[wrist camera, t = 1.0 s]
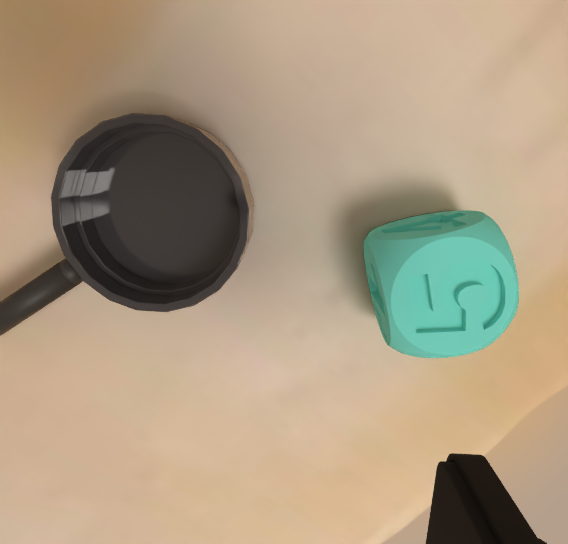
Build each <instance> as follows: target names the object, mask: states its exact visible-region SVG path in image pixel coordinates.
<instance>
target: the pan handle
mask: <svg viewBox="0 0 568 544" xmlns="http://www.w3.org/2000/svg"><path fill="white" fill-rule="evenodd" d="M82 281H83V280H82V278H81V277H80V276H79V275H78V273H77V272H76V271H75V269H74V268H73V267H72V265H71V264H70V263H69V262H68V260H67V259H64V260H62V261H60V262H59V263H57V264H56V265H54V266H53V267H52V268H50V269H49V270H47V271H46V272H44V273H43V274H41V275H40V276H38V277H37V278H35V279H34V280H32V281H31V282H29V283H28V284H26V285H25V286H23V287H22V288H20V289H19V290H17V291H16V292H14V293H13V294H11V295H10V296H8V297H7V298H5V299H4V300H3V301H1V302H0V336H1V335H2V334H4V333H5V332H7V331H8V330H10V329H11V328H13V327H14V326H16V325H17V324H19V323H20V322H22V321H23V320H25V319H27V318H28V317H30V316H31V315H33V314H34V313H36V312H37V311H39V310H40V309H42V308H43V307H45V306H46V305H48V304H49V303H51V302H52V301H54V300H55V299H57V298H58V297H60V296H61V295H63V294H65V293H66V292H68V291H69V290H71V289H72V288H74V287H75V286H77V285H78V284H80V283H81V282H82Z"/></svg>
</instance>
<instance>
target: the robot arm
mask: <svg viewBox="0 0 568 544" xmlns="http://www.w3.org/2000/svg"><path fill="white" fill-rule="evenodd" d="M426 544H547V543H545V542H544V541H542V540H541V539H538V538H537V537H536V535H535V534H534V532H533V530H532V529H531V528H530V526H529V524H528V523H527V521H526V520H525V518H524V517H523V515H522V513H521V512H520V510H519V509H518V507H517V506H516V504H515V503H514V501H513V500H512V498H511V496H510V495H509V493H508V492H507V490H506V489H505V488H504V486H503V484H502V483H501V481H500V480H499V478H498V476H497V475H496V473H495V472H494V470H493V469H492V467H491V466H490V464H489V463H488V461H487V460H486V458H485V457H484V456H482V455H472V454H450V455H449V456H448V458H447V461H446V462H442V461H441V462H439V463H438V466H437V471H436V478H435V485H434V492H433V498H432V505H431V512H430V519H429V525H428V532H427V539H426Z"/></svg>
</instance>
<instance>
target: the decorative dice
mask: <svg viewBox="0 0 568 544" xmlns="http://www.w3.org/2000/svg"><path fill="white" fill-rule="evenodd" d="M363 250H364V261H365V268H366V274H367V279H368V284H369V289H370V293H371V298H372V302H373V306H374V310H375V313H376V317H377V320H378V324H379V327H380V330H381V332H382V335H383V337H384V340H385V342H386V343H387V345H388V346H390V347H392V348H393V349H395V350H397V351H399V352H401V353H403V354H406V355H410V356H415V357H423V358H446V357H455V356H461V355H465V354H469V353H472V352H475V351H478V350H481V349H483V348H485V347H487V346H488V345H490V344H491V343H493V342H494V341H495V340H496V339H497V338H498V337H499V336H500V335H501V334H502V333H503V332H504V331H505V330H506V328H507V327H508V326H509V324H510V323H511V321H512V319H513V318H514V316H515V314H516V311H517V308H518V301H519V286H518V277H517V271H516V267H515V263H514V259H513V256H512V253H511V250H510V247H509V245H508V242H507V240H506V238H505V236H504V234H503V232H502V231H501V229H500V228H499V226H498V225H497V224H496V223H495V221H494V220H493V219H491V218H490V217H489V216H487V215H486V214H484V213H482V212H478V211H447V212H438V213H431V214H424V215H419V216H414V217H409V218H405V219H401V220H397V221H394V222H390V223H387V224H385V225H382V226H380V227H377V228H375V229H374V230H372V231H371V232H370V233H369V234H368V236H367V237H366V238H365V240H364V244H363Z"/></svg>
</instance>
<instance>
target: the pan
mask: <svg viewBox="0 0 568 544" xmlns="http://www.w3.org/2000/svg"><path fill="white" fill-rule="evenodd" d="M51 201H52V216H53V227H54V230H55V233H56V235H57V238H58V241H59V243H60V246H61V248H62V251H63V254H64V256H65V258H66V259H67V260H68V262H69V263H70V264H71V265H72V267H73V268H74V269H75V271H76V272H77V273H78V275H79V276H80V277H81V278H82V280H83V281H84V282H85V283H87V284H88V285H89V286H91V287H92V288H93V289H95V290H96V291H97V292H99V293H100V294H102V295H103V296H104V297H106V298H107V299H109V300H111V301H113V302H116V303H119V304H121V305H124V306H127V307H129V308H132V309H135V310H142V311H157V312H169V311H173V310H177V309H181V308H185V307H190V306H194V305H196V304H197V303H199V302H201V301H202V300H204V299H206V298H207V297H209V296H210V295H212V294H214V293H215V292H217V291H218V290H220V288H221V287H222V286H223V285H224V284H225V282H226V281H227V280H228V279H229V277H230V276H231V275H232V274H233V273H234V271H235V270H236V269H237V267H238V266H239V264H240V262H241V259H242V258H243V256H244V253H245V251H246V248H247V245H248V243H249V240H250V237H251V235H252V232H253V219H254V201H253V197H252V193H251V189H250V186H249V182H248V178H247V176H246V174H245V172H244V170H243V169H242V167H241V166H240V164H239V163H238V161H237V160H236V158H235V156H234V155H233V153H232V152H231V151H230V150H229V149H228V148H227V147H226V146H225V145H223V144H222V143H221V142H220V141H219V140H217V139H216V138H215V137H214V136H213V135H211V134H210V133H209V132H207V131H205V130H203V129H200V128H198V127H196V126H193V125H191V124H188V123H186V122H183V121H181V120H178V119H175V118H172V117H169V116H165V115H153V114H138V113H133V114H132V113H131V114H128V115H124V116H121V117H117V118H113V119H110V120H106V121H103V122H101V123H99V124H98V125H97V126H95V127H94V128H93V129H91V130H90V131H88V132H87V133H86V134H84V135H83V136H81V137H80V138H79V139H77V141H75V143H74V144H73V146H72V147H71V149H70V150H69V152H68V153H67V155H66V156H65V158H64V159H63V161H62V162H61V164H60V165H59V168H58V172H57V175H56V179H55V183H54V187H53V191H52V195H51Z"/></svg>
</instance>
